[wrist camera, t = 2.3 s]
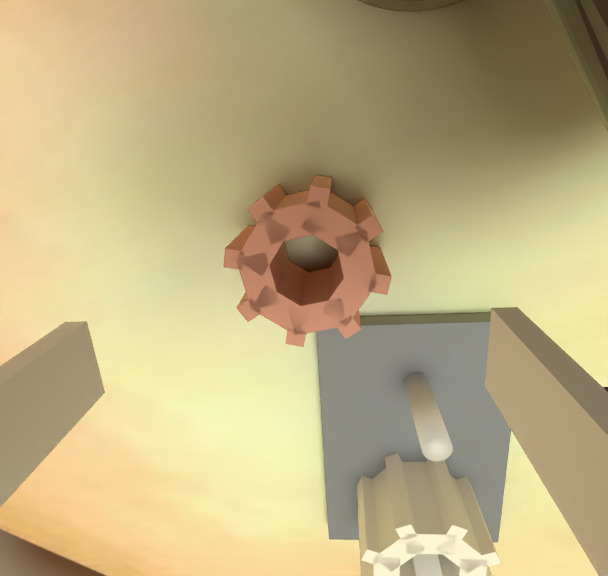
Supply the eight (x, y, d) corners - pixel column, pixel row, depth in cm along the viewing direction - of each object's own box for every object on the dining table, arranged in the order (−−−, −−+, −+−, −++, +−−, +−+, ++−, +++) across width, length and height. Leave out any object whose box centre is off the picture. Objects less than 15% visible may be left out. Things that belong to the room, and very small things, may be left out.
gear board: (317, 317, 29) (310, 380, 22) (514, 311, 28) (578, 376, 20) (329, 523, 35) (327, 627, 28) (491, 525, 34) (534, 635, 27)
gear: (233, 195, 27) (205, 210, 21) (364, 163, 26) (371, 170, 20) (268, 314, 29) (251, 356, 24) (388, 290, 28) (401, 328, 23)
